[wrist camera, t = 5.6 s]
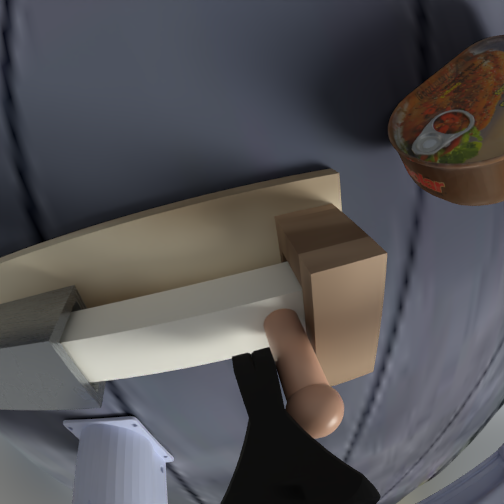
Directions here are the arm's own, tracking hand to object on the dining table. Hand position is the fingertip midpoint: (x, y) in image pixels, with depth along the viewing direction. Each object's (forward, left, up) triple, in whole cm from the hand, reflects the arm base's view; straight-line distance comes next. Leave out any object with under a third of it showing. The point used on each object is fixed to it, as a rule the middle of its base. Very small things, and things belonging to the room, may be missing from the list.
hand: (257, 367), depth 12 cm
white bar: (0, +3, -5) cm, 6 cm away
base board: (0, +7, -7) cm, 10 cm away
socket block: (0, -4, -7) cm, 8 cm away
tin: (+9, -15, -7) cm, 19 cm away
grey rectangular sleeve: (0, +13, -7) cm, 15 cm away
